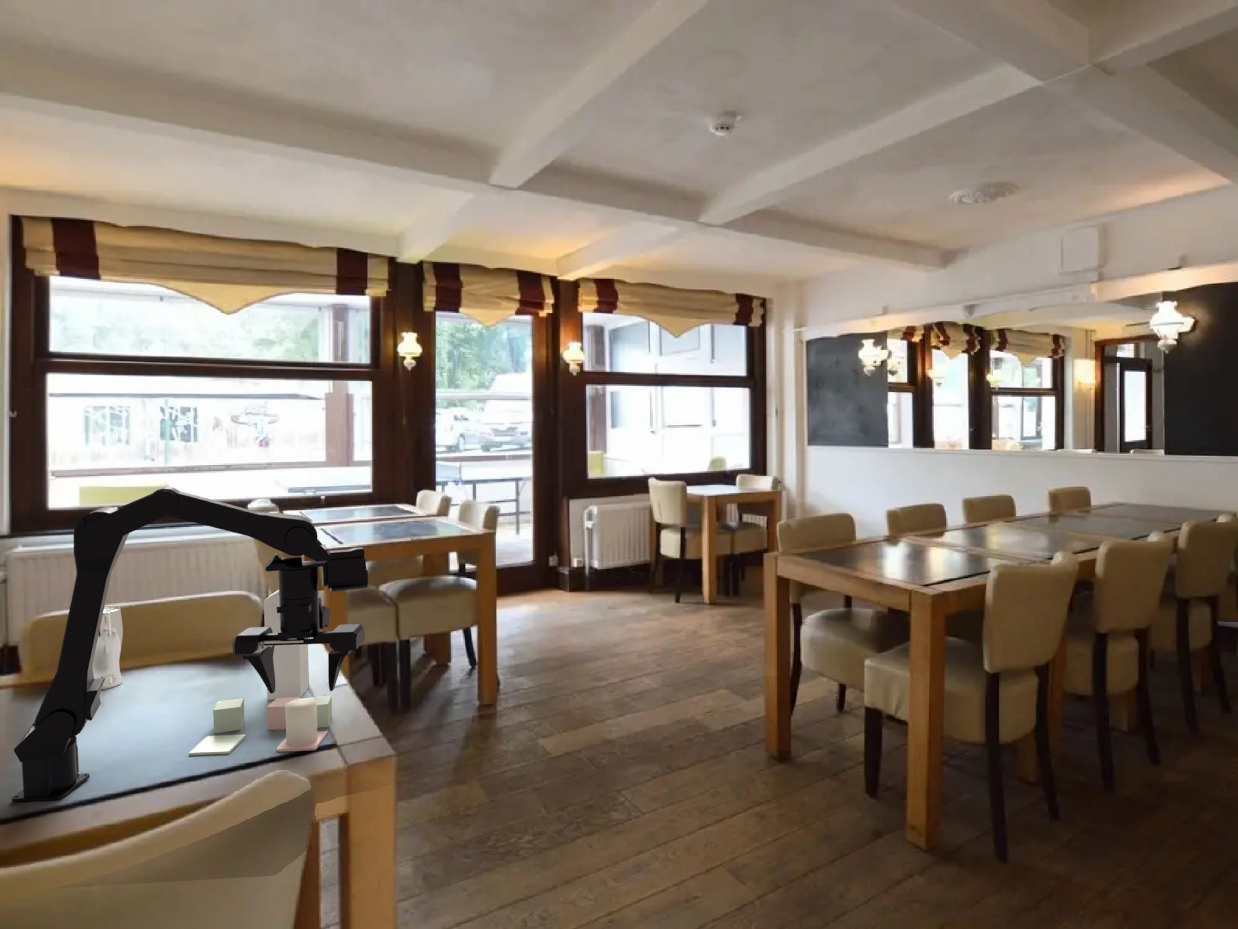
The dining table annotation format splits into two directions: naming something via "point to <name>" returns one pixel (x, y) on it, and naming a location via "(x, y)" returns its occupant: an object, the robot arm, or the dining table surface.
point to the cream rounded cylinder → (301, 722)
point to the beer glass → (109, 648)
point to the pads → (229, 742)
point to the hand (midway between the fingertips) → (302, 691)
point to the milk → (286, 658)
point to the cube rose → (278, 713)
